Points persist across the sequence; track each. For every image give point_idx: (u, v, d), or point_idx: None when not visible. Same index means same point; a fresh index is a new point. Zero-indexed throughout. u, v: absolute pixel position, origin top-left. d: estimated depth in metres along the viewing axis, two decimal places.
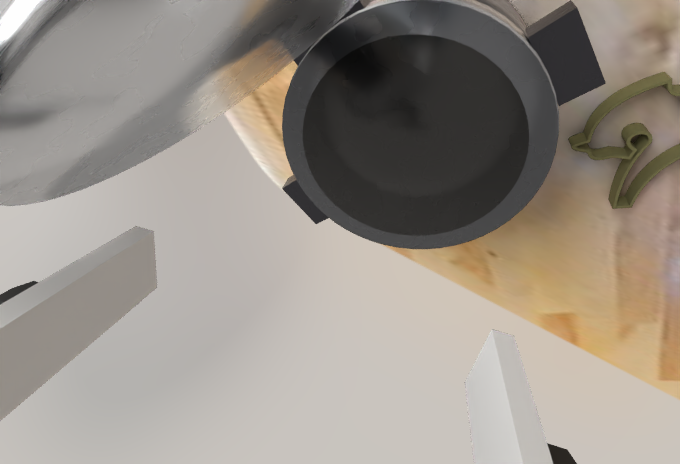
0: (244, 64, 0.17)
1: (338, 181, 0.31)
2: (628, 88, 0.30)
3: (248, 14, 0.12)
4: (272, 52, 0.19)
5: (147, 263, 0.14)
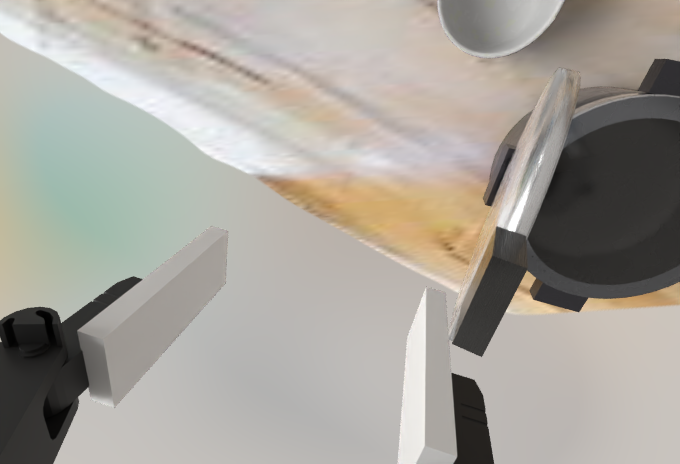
0: None
1: (579, 263, 0.37)
2: None
3: None
4: None
5: (221, 260, 0.15)
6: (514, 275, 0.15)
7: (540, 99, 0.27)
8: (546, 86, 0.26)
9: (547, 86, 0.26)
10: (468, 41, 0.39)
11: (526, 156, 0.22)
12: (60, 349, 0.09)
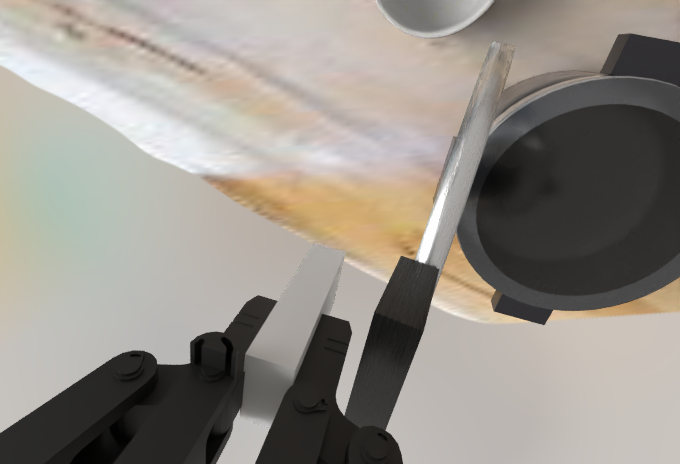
0: None
1: (540, 271, 0.33)
2: None
3: None
4: None
5: None
6: (407, 340, 0.10)
7: None
8: None
9: None
10: (415, 21, 0.34)
11: None
12: (232, 380, 0.09)
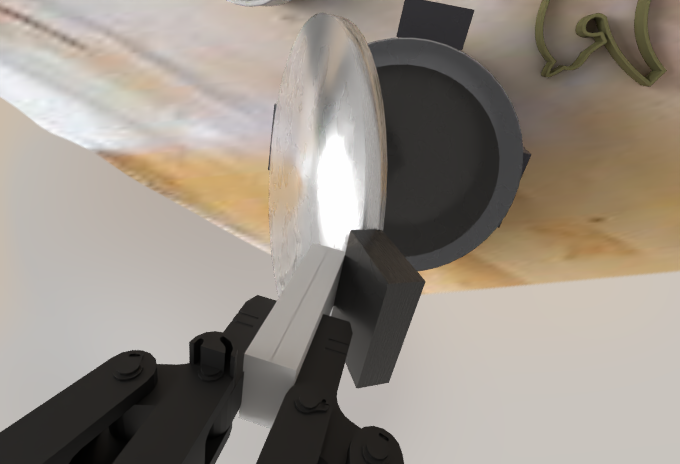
0: None
1: None
2: (540, 8, 0.32)
3: None
4: None
5: None
6: (413, 293, 0.12)
7: (297, 49, 0.24)
8: (301, 33, 0.23)
9: (304, 34, 0.22)
10: None
11: (327, 126, 0.18)
12: (231, 380, 0.09)
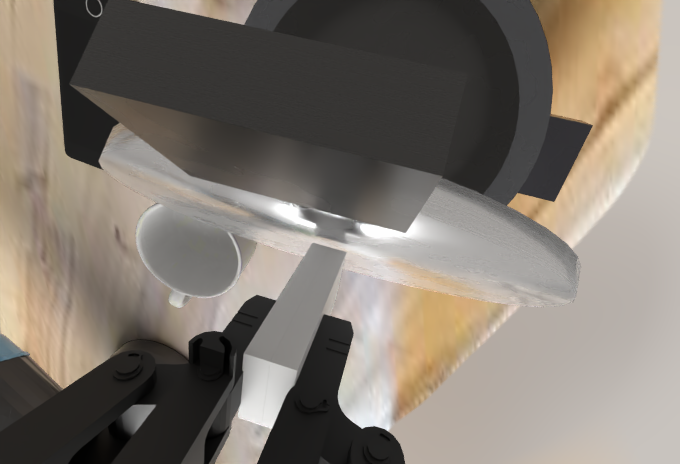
0: None
1: (471, 158, 0.23)
2: None
3: None
4: None
5: None
6: (134, 22, 0.05)
7: (217, 226, 0.23)
8: (201, 221, 0.22)
9: (194, 217, 0.22)
10: None
11: (206, 202, 0.15)
12: (230, 380, 0.09)
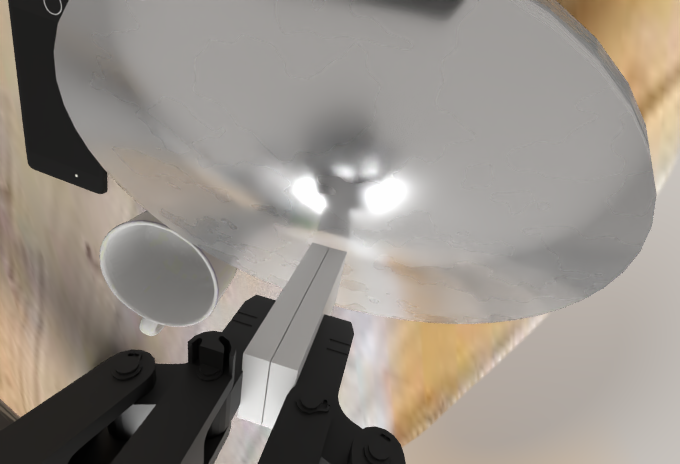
0: None
1: None
2: None
3: None
4: None
5: None
6: None
7: (186, 232, 0.19)
8: (167, 223, 0.19)
9: (159, 214, 0.18)
10: None
11: (181, 138, 0.12)
12: (230, 379, 0.09)
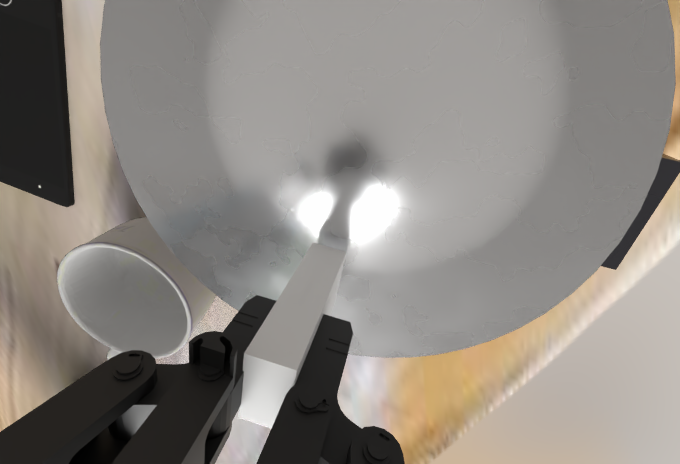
0: None
1: None
2: None
3: None
4: None
5: None
6: None
7: (164, 219, 0.17)
8: (145, 205, 0.17)
9: (142, 187, 0.16)
10: None
11: (217, 36, 0.12)
12: (230, 380, 0.09)
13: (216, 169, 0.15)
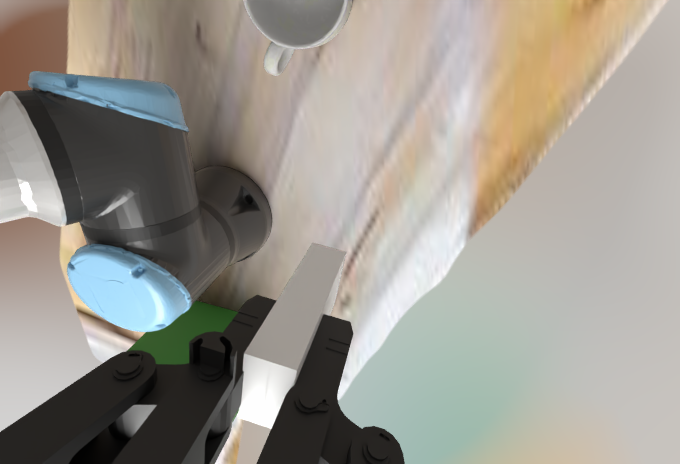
0: None
1: None
2: None
3: None
4: None
5: None
6: None
7: None
8: None
9: None
10: None
11: None
12: (230, 380, 0.09)
13: None
